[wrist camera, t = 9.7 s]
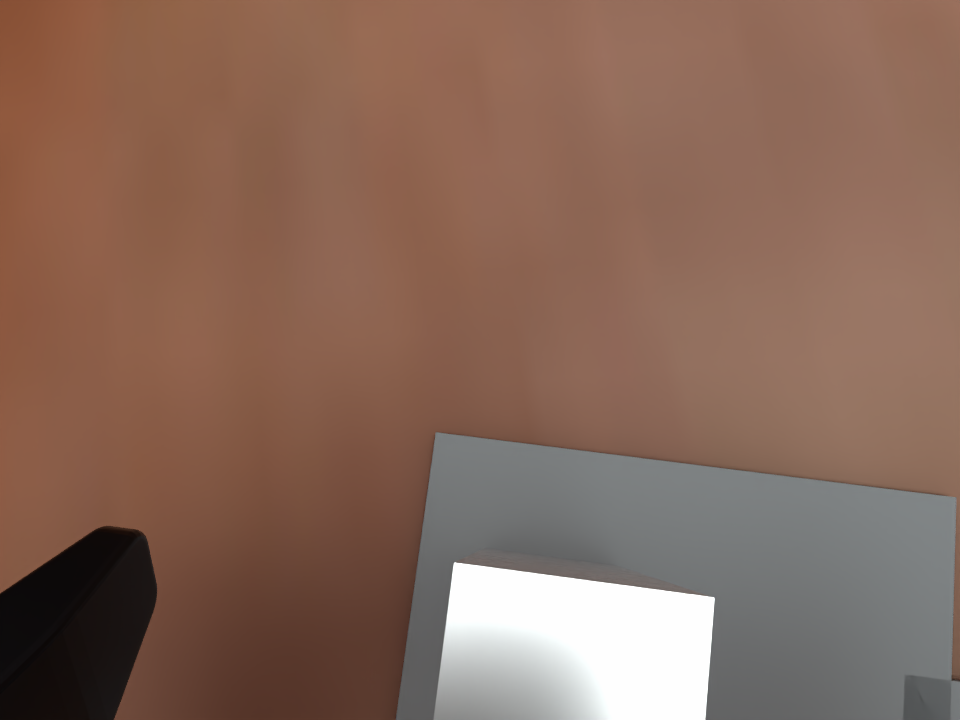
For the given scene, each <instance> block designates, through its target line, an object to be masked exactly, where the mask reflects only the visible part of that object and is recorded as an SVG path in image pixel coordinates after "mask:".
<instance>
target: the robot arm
mask: <svg viewBox="0 0 960 720" xmlns="http://www.w3.org/2000/svg"><path fill="white" fill-rule="evenodd" d="M156 598H157V583H156V579H155V574H154V569H153V564H152V560H151V555H150V550H149V546H148V541H147V538H146V536H145V535H144V534H143V533H142V532H141V531H139V530H135V529H128V528H120V527H113V526H104V527H100V528H98V529H96V530H94V531H92V532H91V533H89V534H88V535H86V536H85V537H83V538H82V539H80V540H79V541H77V542H76V543H74V544H73V545H71V546H70V547H68V548H67V549H66V550H64V551H63V552H61V553H60V554H58V555H57V556H55V557H54V558H52V559H51V560H49V561H48V562H46V563H45V564H43V565H42V566H40V567H39V568H37V569H36V570H34V571H33V572H31V573H30V574H28V575H27V576H25V577H24V578H22V579H21V580H19V581H18V582H17V583H15V584H14V585H12V586H11V587H9V588H8V589H6V590H5V591H3V592H2V593H0V720H114V718H115V715H116V712H117V710H118V707H119V704H120V702H121V699H122V696H123V693H124V691H125V688H126V685H127V682H128V680H129V677H130V674H131V671H132V669H133V666H134V663H135V660H136V658H137V655H138V652H139V649H140V647H141V644H142V641H143V638H144V636H145V633H146V630H147V627H148V625H149V622H150V619H151V616H152V614H153V611H154V608H155V603H156Z"/></svg>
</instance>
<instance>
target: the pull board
mask: <svg viewBox="0 0 960 720" xmlns="http://www.w3.org/2000/svg"><path fill="white" fill-rule="evenodd" d="M955 528H956V497H948V496H940V495H932V494H924V493H916V492H908V491H900V490H892V489H884V488H876V487H868V486H860V485H852V484H844V483H836V482H828V481H820V480H812V479H804V478H796V477H788V476H780V475H772V474H764V473H756V472H748V471H740V470H732V469H724V468H716V467H708V466H700V465H692V464H684V463H676V462H668V461H660V460H652V459H644V458H637V457H629V456H621V455H613V454H605V453H597V452H589V451H581V450H573V449H565V448H557V447H549V446H541V445H533V444H525V443H517V442H509V441H501V440H493V439H485V438H477V437H469V436H461V435H453V434H445V433H437V432H436V435H435V442H434V449H433V457H432V464H431V471H430V478H429V485H428V492H427V500H426V507H425V514H424V521H423V528H422V536H421V543H420V550H419V557H418V564H417V571H416V579H415V586H414V593H413V600H412V607H411V614H410V622H409V629H408V636H407V643H406V650H405V658H404V665H403V672H402V679H401V686H400V693H399V701H398V708H397V715H396V720H960V680H953V679H951V676H952V639H953V602H954V565H955Z"/></svg>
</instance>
